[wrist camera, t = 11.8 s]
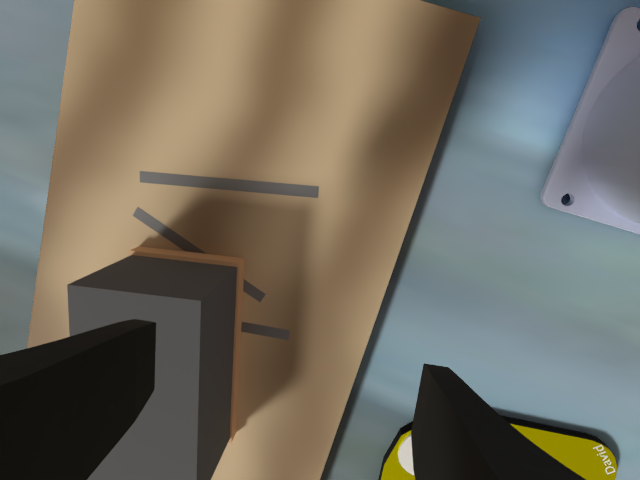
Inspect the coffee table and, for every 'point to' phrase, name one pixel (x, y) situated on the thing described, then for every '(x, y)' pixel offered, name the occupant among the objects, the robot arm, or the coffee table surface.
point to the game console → (561, 444)
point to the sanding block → (172, 357)
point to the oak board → (254, 180)
